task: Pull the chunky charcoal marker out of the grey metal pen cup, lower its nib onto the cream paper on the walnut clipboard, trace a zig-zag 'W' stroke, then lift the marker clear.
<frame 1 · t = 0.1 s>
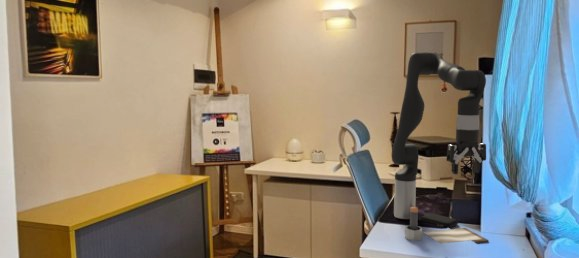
hand: (465, 173, 162), 29 cm above the table, tool pointing down, fingers open, 8 cm apart
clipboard: (451, 237, 181), on the table
carrying case or bag: (437, 225, 198), on the table
marker: (413, 237, 178), point 1 cm above the table, touching pen cup
pen cup: (413, 240, 178), on the table
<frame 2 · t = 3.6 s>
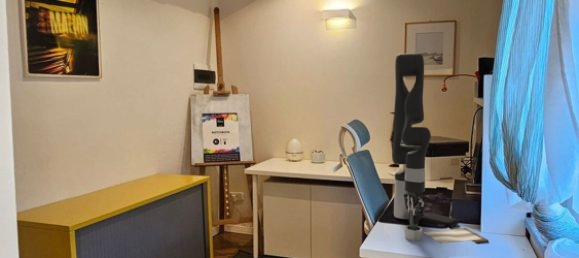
hand: (413, 222, 177), 7 cm above the table, tool pointing down, fingers closed on marker, 2 cm apart
marker: (413, 236, 178), point 1 cm above the table, touching gripper
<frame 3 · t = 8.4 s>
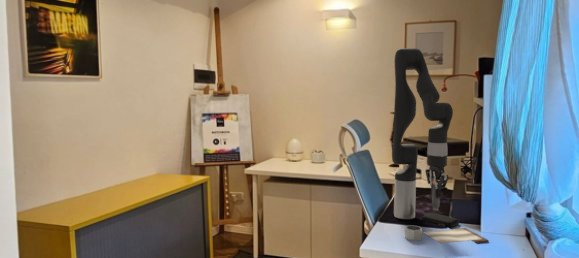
hand: (435, 196, 182), 16 cm above the table, tool pointing down, fingers closed on marker, 2 cm apart
marker: (435, 210, 182), point 10 cm above the table, touching gripper
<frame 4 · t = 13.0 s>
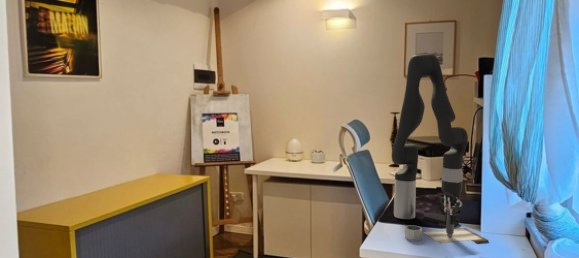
hand: (450, 222, 178), 7 cm above the table, tool pointing down, fingers closed on marker, 2 cm apart
marker: (449, 236, 179), point 1 cm above the table, touching gripper
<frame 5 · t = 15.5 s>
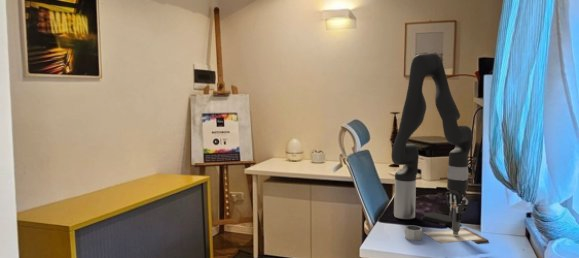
hand: (456, 220, 180), 7 cm above the table, tool pointing down, fingers closed on marker, 2 cm apart
marker: (455, 234, 180), point 2 cm above the table, touching gripper
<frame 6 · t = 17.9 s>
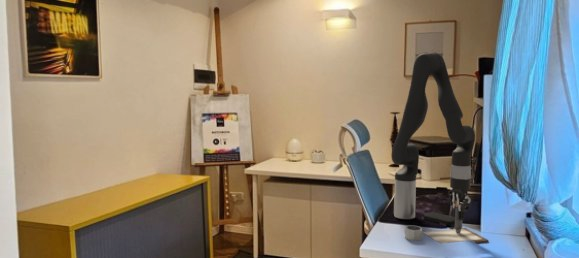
hand: (458, 218, 183), 7 cm above the table, tool pointing down, fingers closed on marker, 2 cm apart
marker: (458, 231, 184), point 1 cm above the table, touching gripper
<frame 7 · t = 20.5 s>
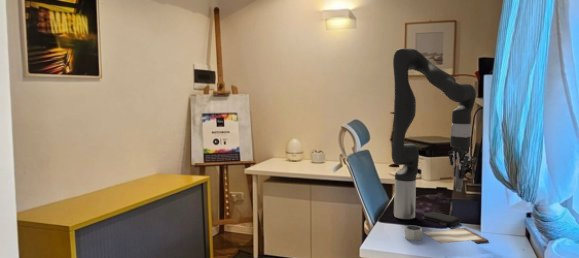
hand: (459, 177, 183), 23 cm above the table, tool pointing down, fingers closed on marker, 2 cm apart
marker: (458, 190, 184), point 18 cm above the table, touching gripper
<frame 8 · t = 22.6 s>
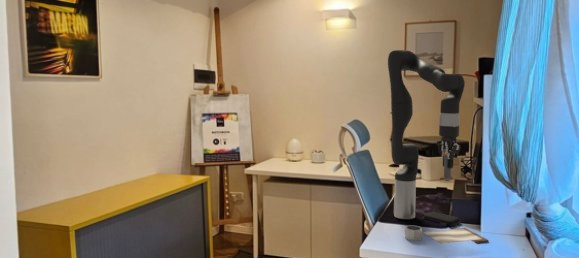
hand: (447, 167, 184), 27 cm above the table, tool pointing down, fingers closed on marker, 2 cm apart
marker: (447, 180, 184), point 22 cm above the table, touching gripper
at the end: the gripper is holding marker; marker inside the target area (1.4 cm from its centre), point 21.6 cm above the table; marker moved 27.2 cm from its start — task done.
